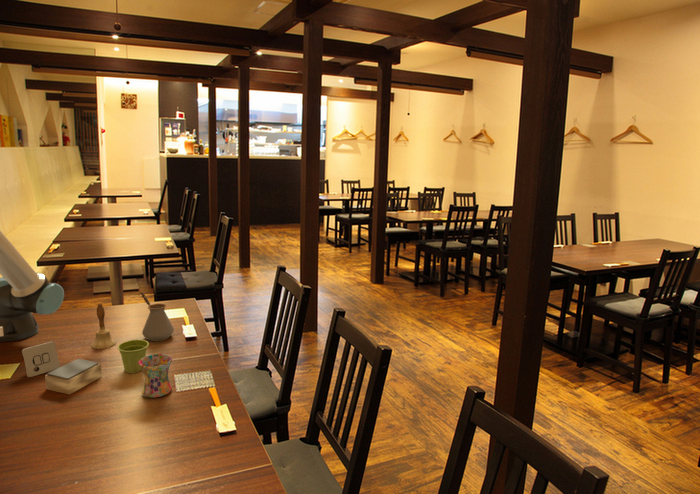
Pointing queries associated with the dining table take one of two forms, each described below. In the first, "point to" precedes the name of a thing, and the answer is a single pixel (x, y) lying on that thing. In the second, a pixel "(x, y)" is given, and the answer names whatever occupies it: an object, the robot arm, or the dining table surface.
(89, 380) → the birch stand
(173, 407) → the dining table surface
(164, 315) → the coffee pot
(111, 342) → the hand bell
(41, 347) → the electrical switch
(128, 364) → the plant pot
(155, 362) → the mug
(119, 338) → the dining table surface
